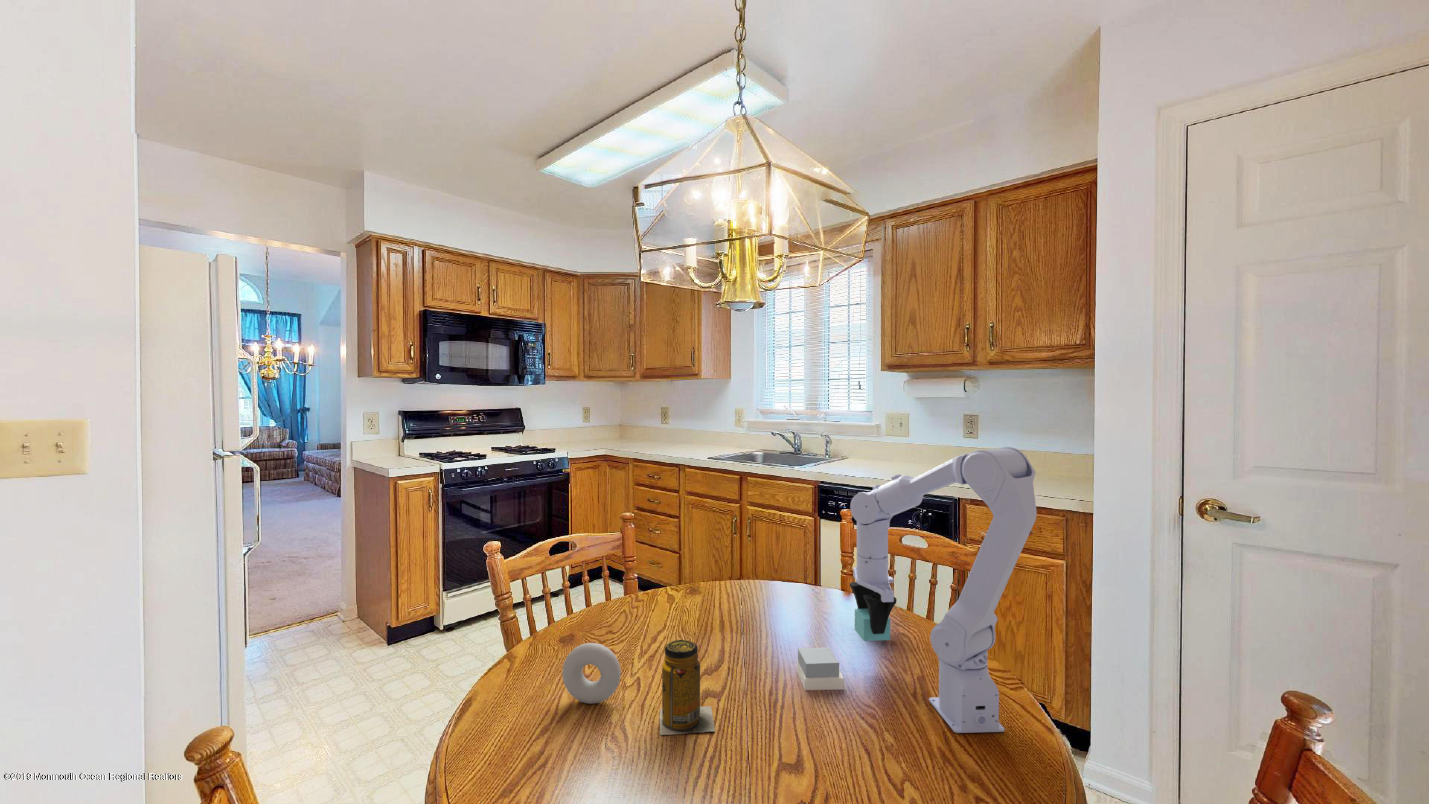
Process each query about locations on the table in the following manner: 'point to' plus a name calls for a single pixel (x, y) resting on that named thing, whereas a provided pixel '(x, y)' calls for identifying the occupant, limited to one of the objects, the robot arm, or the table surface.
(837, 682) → the base slab
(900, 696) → the table surface
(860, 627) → the teal cube
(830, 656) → the top slab
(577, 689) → the donut
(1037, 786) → the table surface
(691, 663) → the condiment
